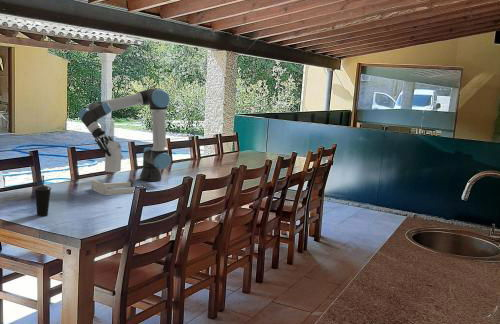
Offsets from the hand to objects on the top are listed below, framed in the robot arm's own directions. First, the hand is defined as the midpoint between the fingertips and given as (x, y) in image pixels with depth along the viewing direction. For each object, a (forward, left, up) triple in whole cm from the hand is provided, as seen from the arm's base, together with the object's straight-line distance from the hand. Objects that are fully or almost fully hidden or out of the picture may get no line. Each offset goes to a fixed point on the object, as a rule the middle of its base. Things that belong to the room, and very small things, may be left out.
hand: (118, 159), depth 307 cm
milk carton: (+2, -3, -8) cm, 9 cm away
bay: (-3, -3, -21) cm, 21 cm away
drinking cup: (+57, +34, -21) cm, 70 cm away
